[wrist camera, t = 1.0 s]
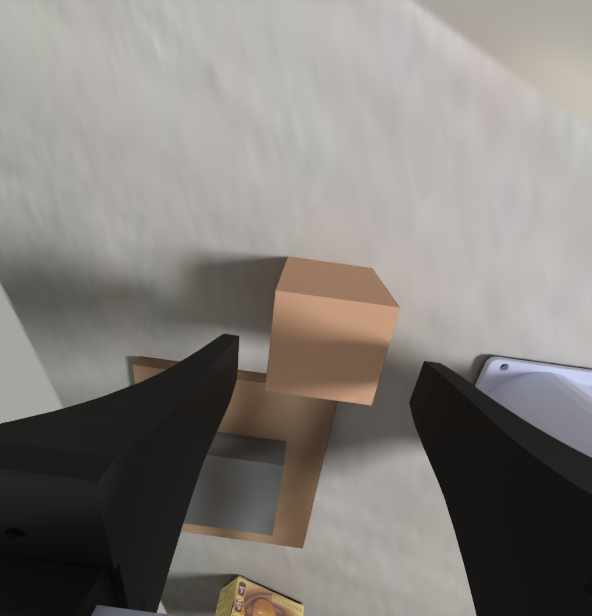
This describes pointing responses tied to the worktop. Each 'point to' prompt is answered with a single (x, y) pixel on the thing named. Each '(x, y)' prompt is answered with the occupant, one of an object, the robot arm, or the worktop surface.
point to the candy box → (254, 601)
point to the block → (329, 331)
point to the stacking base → (272, 425)
